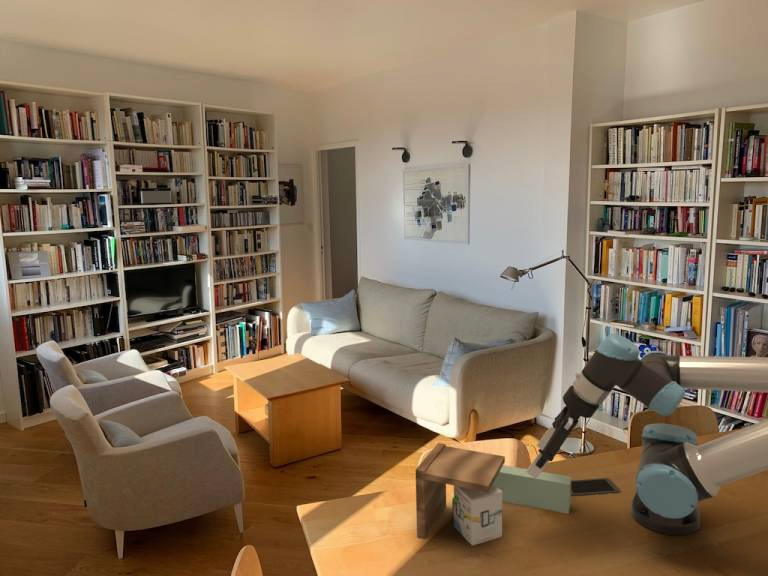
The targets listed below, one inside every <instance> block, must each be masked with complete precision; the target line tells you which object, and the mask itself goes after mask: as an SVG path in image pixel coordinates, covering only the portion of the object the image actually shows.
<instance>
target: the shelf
mask: <svg viewBox="0 0 768 576" xmlns="http://www.w3.org/2000/svg"><path fill="white" fill-rule="evenodd" d="M505 461H506V456H504V455H500V454H499V455H498V454H494V453H493V454H492V453H487V452H482V451H476V450H471V449H464V448H460V447H454V446H449V445H448V446H447V445H446V444H445V443H441V442H438V443H436V445H435V446H434V447H433V448H432V450H431V451H430V452H429V453H428V454H427V455H426V457H425V458H424V459H423V460H422V461H421V462H420V464H419V465H418V466H417V467H416V468H415V502H416V503H415V505H416V508H415V511H416V537H417V538H421V539H425V540H426V537H427V536H428V534H429V533H431V530H432V529H433V527H434V526H435V524H436V523H437V521H438V520H439V518H440V517H441V515H442V513H443V512H444V510H445V509H446V507H447V485H450V486H453V487H454V486H459V487H464V488H469V489H474V490H479V491H484V492H489V490H490V488H491V486H492V484H493V482H494V481H495V479H496V477H497V475H498V473H499V472H500V470H501V468H502V466H503V465H504V464H505Z"/></svg>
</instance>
